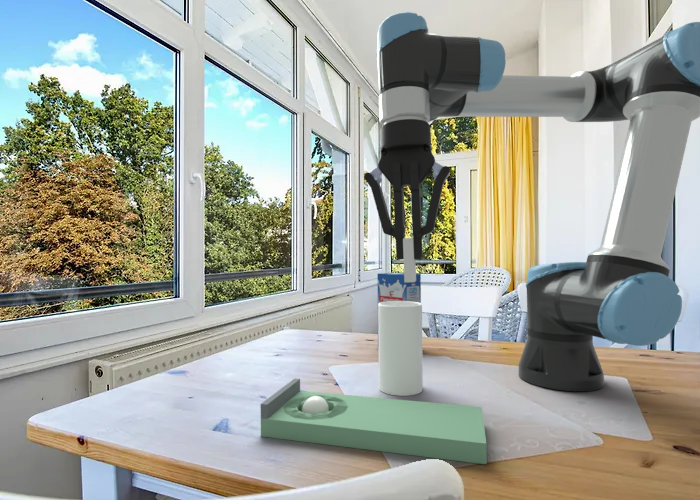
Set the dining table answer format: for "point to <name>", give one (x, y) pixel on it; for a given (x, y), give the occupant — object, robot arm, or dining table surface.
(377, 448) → the green
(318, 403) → the ball
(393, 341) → the cup
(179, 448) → the dining table surface
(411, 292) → the milk carton
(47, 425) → the dining table surface
